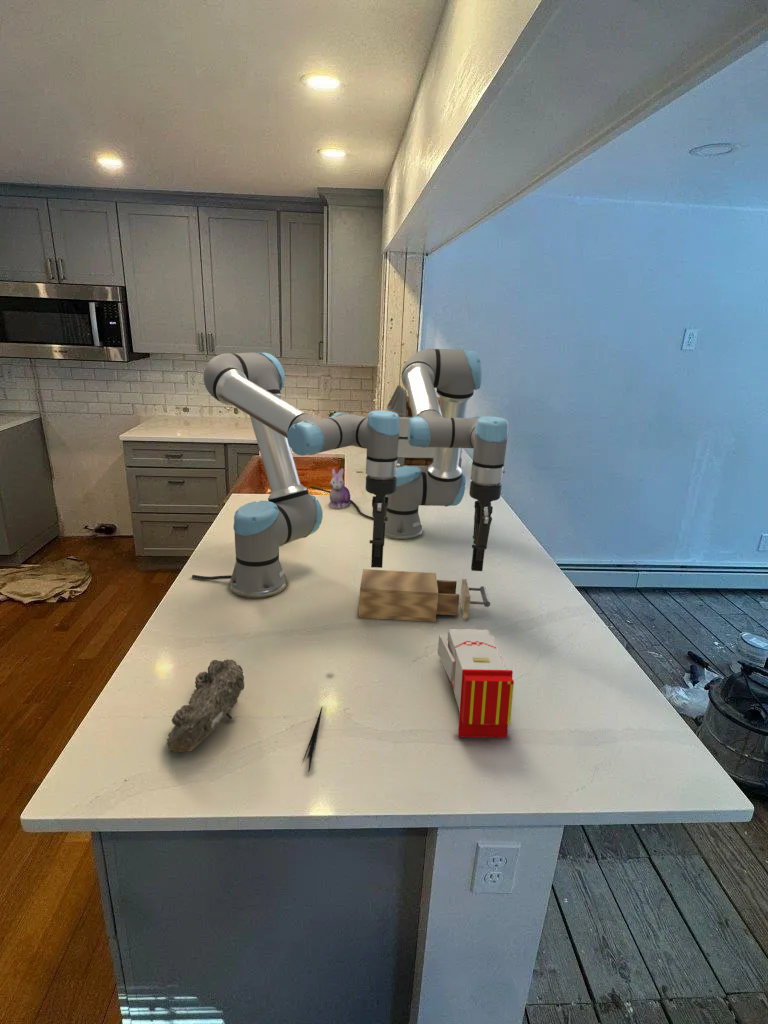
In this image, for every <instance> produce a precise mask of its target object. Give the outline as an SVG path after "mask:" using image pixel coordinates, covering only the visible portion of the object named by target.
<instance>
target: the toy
mask: <svg viewBox="0 0 768 1024" xmlns="http://www.w3.org/2000/svg"><path fill="white" fill-rule="evenodd" d="M446 640H447V643H446V641H445V639H444V636H443V635H442V634H439V637H438V646H437V656H438V657H439V659H440V661H441V663H442V666H443V668H444V670H445V672H446V674H447V677H448V679H449V681H450V684H451V687H452V690H453V693H454V697H455V701H456V705H457V708H458V711H459V714H458V715H459V716H458V730H457V731H458V732H457V737H458V738H508V731H509V726H510V725H511V717H512V707H513V697H514V696H513V695H514V684H515V680H514V679H513V673H514V671H513V670H512V669H508V667H507V665H506V662H505V661H504V659H503V658H502V655H501V653H500V651H499V649H498V647H497V643H496V639H495V637H494V635H493V634H491V632H490V631H489V629H467V628H466V629H465V628H463V629H461V628H460V629H459V628H448V630H447V639H446Z"/></svg>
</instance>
